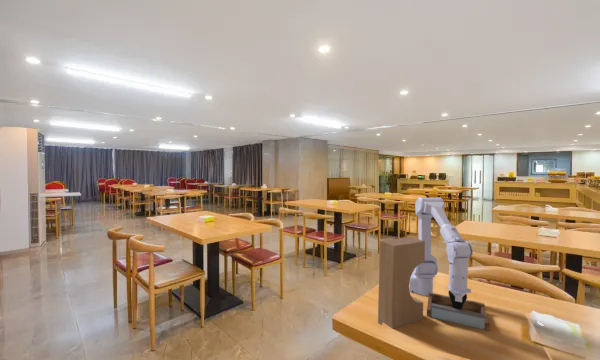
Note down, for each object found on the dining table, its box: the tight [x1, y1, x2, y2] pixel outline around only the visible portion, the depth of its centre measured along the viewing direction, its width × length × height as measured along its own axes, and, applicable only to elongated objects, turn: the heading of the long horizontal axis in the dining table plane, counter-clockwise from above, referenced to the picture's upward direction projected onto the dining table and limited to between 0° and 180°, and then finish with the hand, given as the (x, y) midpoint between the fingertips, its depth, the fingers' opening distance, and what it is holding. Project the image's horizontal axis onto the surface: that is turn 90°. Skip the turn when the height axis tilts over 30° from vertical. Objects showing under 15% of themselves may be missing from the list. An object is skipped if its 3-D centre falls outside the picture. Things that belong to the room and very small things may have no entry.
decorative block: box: [377, 236, 425, 330], centre depth 100 cm, size 15×8×30 cm, turn 116°
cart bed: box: [426, 292, 490, 332], centre depth 104 cm, size 19×14×5 cm
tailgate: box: [431, 303, 485, 330], centre depth 97 cm, size 16×1×6 cm, turn 62°
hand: (456, 313), depth 98 cm, fingers closed, pressing on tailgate
